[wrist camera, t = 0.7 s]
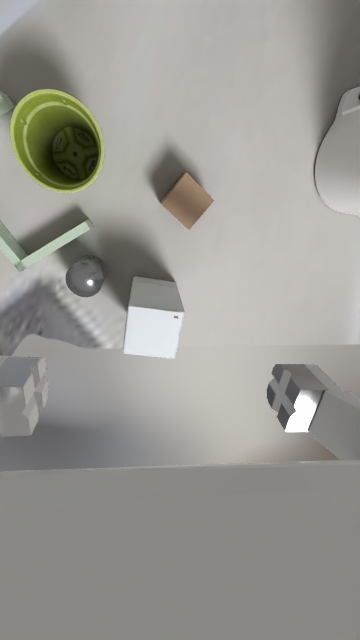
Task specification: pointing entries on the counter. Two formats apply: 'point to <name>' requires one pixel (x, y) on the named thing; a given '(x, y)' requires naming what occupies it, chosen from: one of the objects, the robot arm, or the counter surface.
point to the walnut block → (186, 200)
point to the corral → (6, 241)
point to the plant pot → (56, 140)
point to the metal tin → (86, 276)
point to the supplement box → (153, 318)
